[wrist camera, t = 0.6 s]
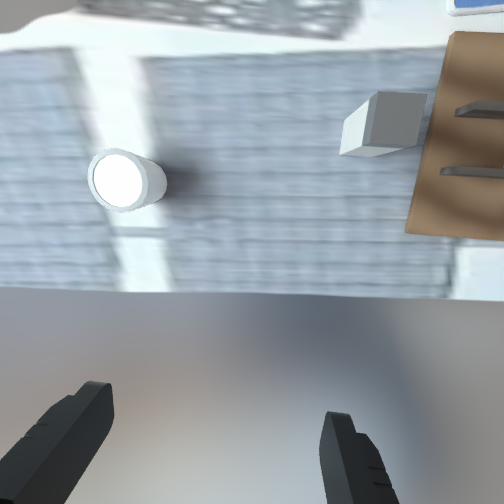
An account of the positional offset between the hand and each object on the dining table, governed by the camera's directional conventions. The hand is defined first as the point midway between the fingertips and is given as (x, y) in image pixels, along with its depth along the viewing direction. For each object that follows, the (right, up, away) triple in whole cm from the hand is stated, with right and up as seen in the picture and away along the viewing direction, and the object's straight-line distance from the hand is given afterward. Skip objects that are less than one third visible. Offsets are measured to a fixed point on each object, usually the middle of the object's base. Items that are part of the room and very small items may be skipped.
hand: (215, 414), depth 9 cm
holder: (+28, +19, +21) cm, 40 cm away
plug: (+14, +20, +22) cm, 33 cm away
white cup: (-13, +16, +25) cm, 32 cm away
